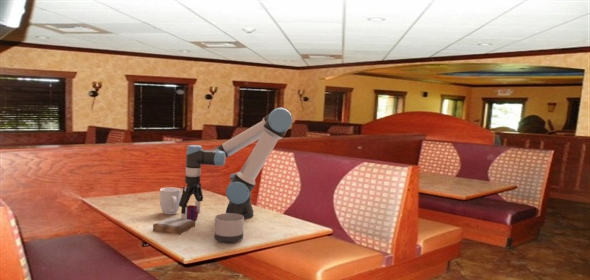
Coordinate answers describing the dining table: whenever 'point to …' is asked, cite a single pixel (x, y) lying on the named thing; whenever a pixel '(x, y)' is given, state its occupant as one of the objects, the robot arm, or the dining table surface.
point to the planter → (229, 227)
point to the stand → (174, 225)
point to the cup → (192, 212)
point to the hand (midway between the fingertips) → (190, 216)
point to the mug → (170, 200)
